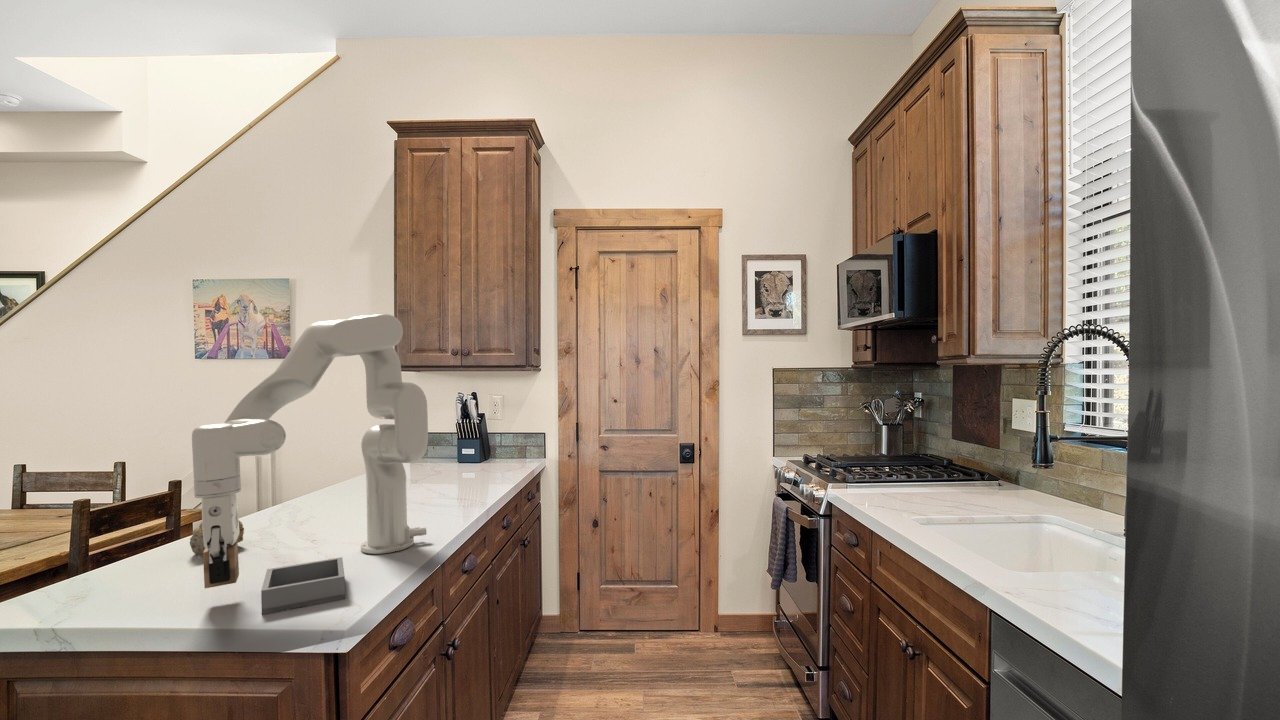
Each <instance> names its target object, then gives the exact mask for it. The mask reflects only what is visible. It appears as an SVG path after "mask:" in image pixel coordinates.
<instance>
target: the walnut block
mask: <svg viewBox="0 0 1280 720" xmlns="http://www.w3.org/2000/svg"><path fill="white" fill-rule="evenodd" d="M238 543H239V542H238V541H236V542H235V543H234V544H233V545H230V544H227V560H229V567H230V580H229V581H226V582H220V583H215V584H210V581H209V549H207V548H206V549H205V550H204V552H203V555H202V558H203V560H202V561H203V580H204V581H203V582H204V585H203V586H204V589H209V588H215V587H220V586H226V585H231V584H236V583H237V581H238V579H239V575H240V566H239V564H240V563H239V546H238V545H239V544H238ZM220 545H224V543H221V544H220ZM220 550H222V551H223V548H222V549H220Z"/></svg>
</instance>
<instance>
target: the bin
mask: <svg viewBox="0 0 1280 720" xmlns="http://www.w3.org/2000/svg"><path fill="white" fill-rule="evenodd" d="M343 561H344V560H343V557H341V556H340V557H335V558H328V559H321V560H317V561H310V562H309V561H308V562H304V563H303V562H302V563H296V564H292V565H291V564H290V565H286V566H285V565H284V566H279V567H273V568H266V571H265V572H266V573H265V576H264V579H263V582H262V587H261V591H260V592H261V593H260V594H261V595H260V596H261V597H260V598H261V600H260V601H261V615H262V616H263V615H268V614H267V613H269V614H274V613H278V611H279V612H283V611H282V610H284V611H288V610H287V609H290V610H295V609H300V608H305V607H309V606H310V605H311V606H316V605H321V604H325V603H326V604H327V603H330V602H337V601H341V600H345V599H346V582H345V581H346V577H345V568H344V562H343ZM304 606H305V607H304ZM294 608H295V609H294Z"/></svg>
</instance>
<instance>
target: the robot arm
mask: <svg viewBox="0 0 1280 720" xmlns="http://www.w3.org/2000/svg"><path fill="white" fill-rule="evenodd" d="M403 335H404V328H403V325H402V323H401V321H400V320H399V319H398V318H397V317H396V316H394V315H393V314H389V313H380V314H378V313H377V314H371V315H370V314H369V315H368V314H366V315H365V314H364V315H358V316H352V317H350V318H347V319H335V320H324V321H317V322H313V323H311V324H310V325H309V326H308V327H306V329H305V330H304V331H303V332H302V334H300V336H299V338H297V341H296V342H295V343H294V344H293V346H292V348H291V349H290V350H289V352H288V353H287V355H286V356H285V358H284V359H282V361H281V362H280V364H279V365H278V367H276V369H275V371H274V372H272V373H271V374H270V375H269V376H267V377H266V378H265V379H264V380H263V381H261V382H260V383H259V384H257V386H256V387H254V388H253V389H251V391H249V392H248V393H247V394H246V395H245V396H244V397H243V398H242V399H241V400H240V401H239V402H238V404H236V406H235V407H234V408H233V410H232V412H231V413H230V414H229V415H228V417H227V418H226V420H225V421H224V423H213V424H211V423H210V424H204V425H200V426H197V427H195V428H193V430H192V432H191V449H192V450H191V451H192V463H193V464H192V469H193V491H194V498H195V499H201V521H202V522H201V523H202V528H203V542H204V547H205V548H207V549H209V581H210V584H215V583H220V582H226V581H229V580H230V567H229V560H227V544H230V545H233V544H234V543H235V542H236V540H237V538H238V536H239V521H240V519H239V508H238V498H237V494H238V493H240V492H242V484H241V482H242V481H241V478H242V477H241V463H240V462H241V461H240V459H241V457H254V456H255V457H258V456H268V455H271V454H273V453H275V452H277V451H279V450H280V449H281V448H282V447H283V446H284V444H285V441H286V438H287V435H286V430H285V428H284V427H283V426H282V425H281V424H280V423H279V422H277V421H275V420H271V418H272V417H273V416H274V415H275V414H276V413H277V412H278V411H279V410H281V409H282V408H284V407H285V406H286V405H289V404H290V403H293V402H294V401H297V400H299V399H301V398H303V397H305V396H306V395H308V394H310V393H311V392H312V391H313V390H315V388H316V386H317V385H318V384H319V382H320V380H321V379H322V377H323V376H324V375H325V372H326V371H327V370H328V368H329V367H330V365H331V364H332V362H334V360H335V358H337V357H352V356H358V355H359V357H360V358H361V360H362V361H363V364H364V365H363V366H364V368H365V388H366V391H365V393H366V408H367V412H368V413H369V415H370V416H372V417H373V418H375V419H378V420H379V419H380V420H394V421H393V422H394V424H392V423H391V424H389V423H388V424H387V423H383V424H377V425H374V426H372V427H370V428H369V429H367V430H366V431H365V433H364V435H363V437H362V438H361V452H362V453H361V454H362V457H363V462H364V467H365V469H364V470H365V480H366V482H365V484H366V489H365V490H366V491H365V492H366V528H367V529H366V533H367V536H366V537H367V541H364V542H363V543H362V544H361V545H360V551H361V552H362V553H364V554H369V555H370V554H372V555H379V554H380V555H381V554H389V553H395V551H396V552H399V551H402V550H405V549H408V548H410V547H412V546H413V545H414V544H415V543H414V542H415V541H414V539H415V538H414V537H417V536H418V537H419V536H420V537H421V536H426V535H427V527H420V526H417V527H414V528H413V527H410V526H409V524H408V515H407V514H408V509H407V506H408V503H407V497H408V496H407V474H406V470H405V469H406V468H405V466H404V464H411V463H413V464H414V463H416V462H418V461H419V460H421V459H422V458H423V457H424V456H425V454H426V451H427V449H428V443H429V428H428V426H429V425H428V424H429V421H428V417H429V416H428V414H429V413H428V401H427V396H426V394H425V392H424V390H423V389H422V388H421V387H420V386H419V385H418V384H415V383H413V382H407V381H405V382H403V378H402V377H403V376H402V365H401V359H400V357H399V355H398V353H397V351H396V349H395V346H397V345H398V344H399V343H400V342H401V341H402V339H403ZM238 519H239V520H238ZM221 543H224V545H220V544H221ZM222 548H223V551H222V550H220V549H222Z"/></svg>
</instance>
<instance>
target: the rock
mask: <svg viewBox="0 0 1280 720" xmlns="http://www.w3.org/2000/svg"><path fill="white" fill-rule="evenodd" d="M238 520H239V536H238V538H237V540H236V541H238V543H241V542H243V541H244V533H245V528H244V525H243V522H242V521H241V520H240V519H239V518H238ZM189 547H190V549H191V551H192V552H193V554H195V555H197V556H198V555H199V556H200V555H201V556H203V552H204V550H205V549H206V548H205V547H204V542H203V528H202V522H201V523H200V524H199V526H198V527H196V528H195V529H193V531H192V535H191V537H190V538H189Z"/></svg>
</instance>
